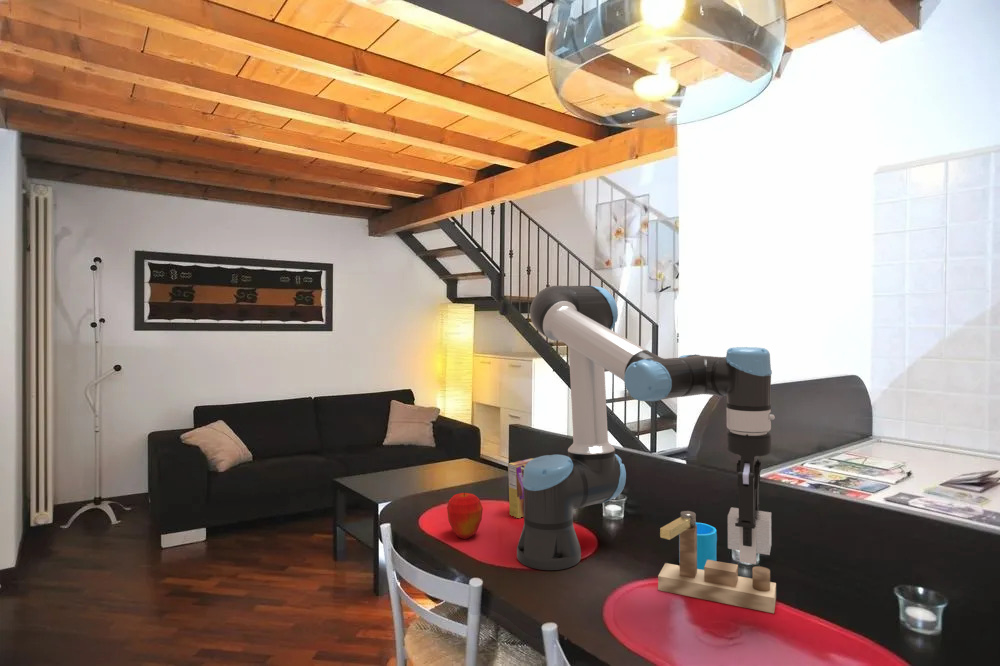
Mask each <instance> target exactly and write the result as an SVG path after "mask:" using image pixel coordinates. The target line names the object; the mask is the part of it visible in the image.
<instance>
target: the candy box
mask: <svg viewBox="0 0 1000 666" xmlns="http://www.w3.org/2000/svg"><path fill="white" fill-rule="evenodd" d="M532 459H533V458H527V459H523V460H517V461H515V462H514V461H513V462H510V463H507V469H508V471H507V473H508V475H507V477H508V500H509V501H508V502H509V505H508V507H509V509H508V510H509V516H510V515H511V517H512V516H514V517H513V518H515V517H516V518H515V519H517V518H519V519H522V518H521V517H523V518H524V491H523V475H524V468H525V465H526V464H527V463H528V462H529V461H530V460H532Z"/></svg>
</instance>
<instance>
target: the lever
mask: <svg viewBox="0 0 1000 666" xmlns="http://www.w3.org/2000/svg"><path fill="white" fill-rule="evenodd" d="M696 517H697V515H696V513H695V512H694V511H691V510H682V511H680V517H678V518H676V519H674V520H673V521H671V522H669V523H667V524H665V525H663V526H662V527H660V528H659V529H660V530H659V531H660V532H659V536H660V538H661V539H665V540H669V541H670V540H672V539H674V538H675V537H677V536H679V534H680V533H682V532H683V531H685V530H687V529H688V528H690V527H695V526H696V523H697V521H696Z"/></svg>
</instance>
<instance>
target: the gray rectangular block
mask: <svg viewBox="0 0 1000 666" xmlns="http://www.w3.org/2000/svg"><path fill="white" fill-rule="evenodd" d="M738 521H739V507H730V509H729V512H728V514H727V549H729V550H735V551H740V527H737V526H735V523H738ZM755 524H756V554H760V555H766V556H767V555H768V556H770V554H771V548H772V512H771V511H770V512H769V511H764V510H763V511H756V510H755Z"/></svg>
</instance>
